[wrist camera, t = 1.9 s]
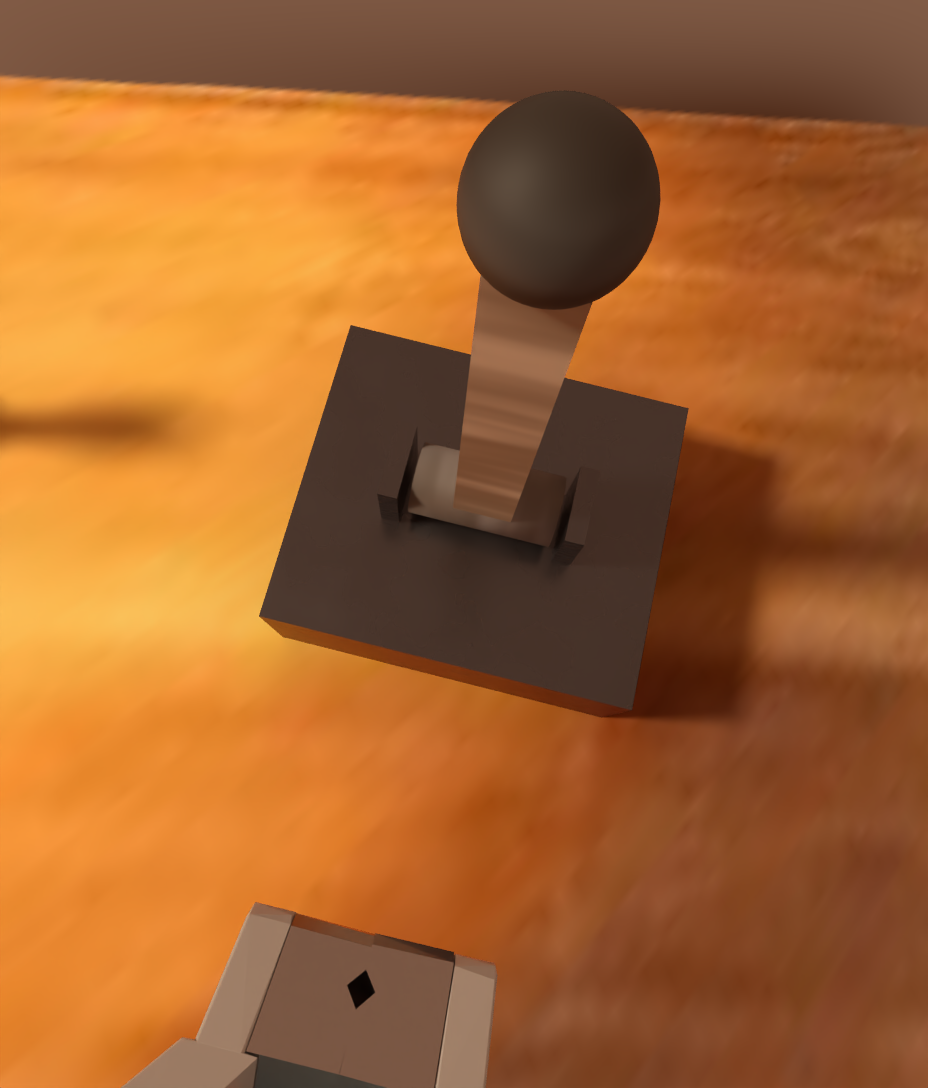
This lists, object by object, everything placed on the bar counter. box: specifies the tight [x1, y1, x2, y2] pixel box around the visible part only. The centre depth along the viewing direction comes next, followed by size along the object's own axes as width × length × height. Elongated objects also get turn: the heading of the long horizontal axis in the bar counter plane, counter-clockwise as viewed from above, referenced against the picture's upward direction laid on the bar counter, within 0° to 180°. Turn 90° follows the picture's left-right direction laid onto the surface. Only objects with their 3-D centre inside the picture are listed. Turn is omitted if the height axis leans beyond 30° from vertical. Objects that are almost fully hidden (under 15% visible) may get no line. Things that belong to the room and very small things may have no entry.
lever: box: [408, 91, 660, 547], centre depth 25 cm, size 4×6×22 cm, turn 76°
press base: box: [259, 325, 689, 717], centre depth 37 cm, size 14×16×9 cm
